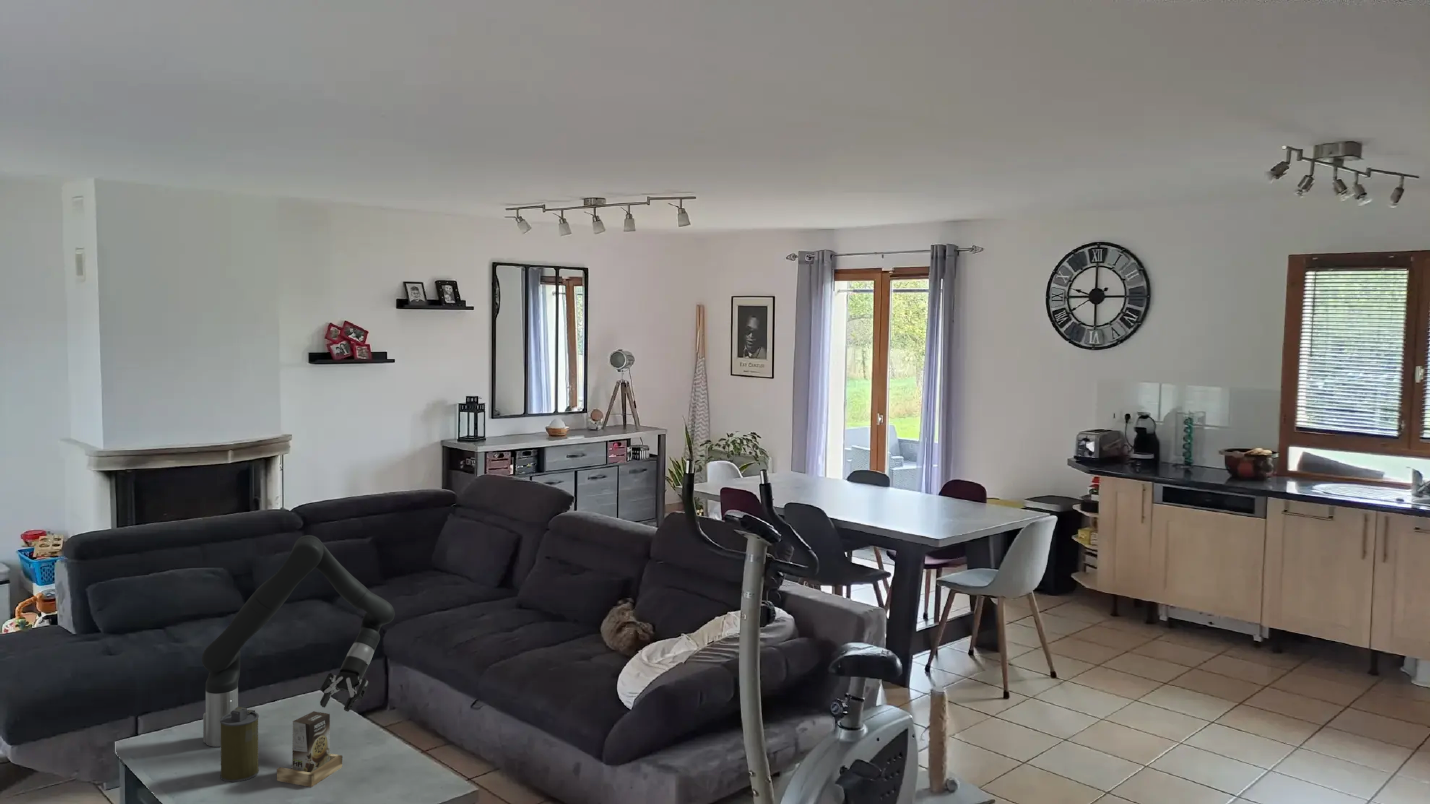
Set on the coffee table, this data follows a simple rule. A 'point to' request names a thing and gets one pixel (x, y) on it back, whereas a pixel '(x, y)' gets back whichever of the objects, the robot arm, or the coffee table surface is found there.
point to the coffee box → (311, 741)
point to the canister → (239, 745)
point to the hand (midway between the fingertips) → (334, 708)
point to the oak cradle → (308, 777)
